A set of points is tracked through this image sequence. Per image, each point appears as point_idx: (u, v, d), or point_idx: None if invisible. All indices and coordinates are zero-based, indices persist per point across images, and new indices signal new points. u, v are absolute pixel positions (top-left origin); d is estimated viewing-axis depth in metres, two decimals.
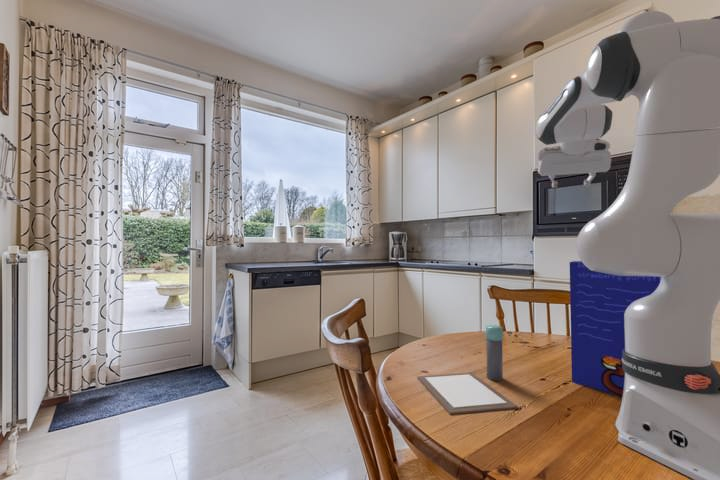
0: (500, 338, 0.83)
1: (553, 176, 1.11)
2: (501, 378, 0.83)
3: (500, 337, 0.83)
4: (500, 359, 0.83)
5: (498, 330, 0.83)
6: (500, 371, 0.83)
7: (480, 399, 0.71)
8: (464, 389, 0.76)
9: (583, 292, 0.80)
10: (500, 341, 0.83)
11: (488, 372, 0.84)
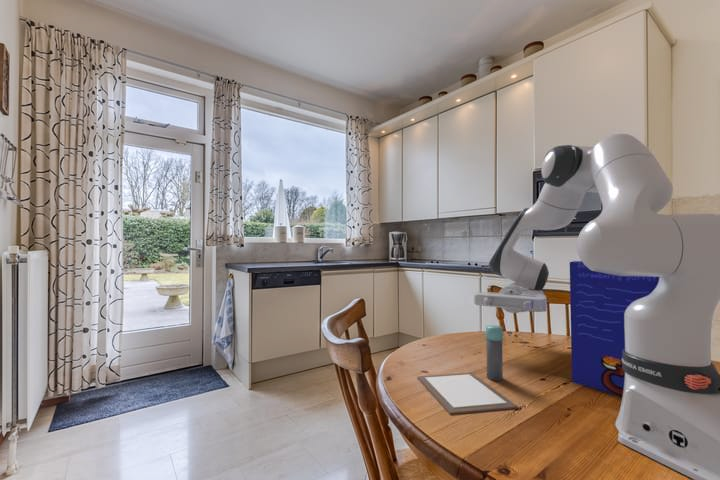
0: (500, 338, 0.83)
1: (487, 297, 1.02)
2: (501, 378, 0.83)
3: (500, 337, 0.83)
4: (500, 359, 0.83)
5: (498, 330, 0.83)
6: (500, 371, 0.83)
7: (480, 399, 0.71)
8: (464, 389, 0.76)
9: (583, 292, 0.80)
10: (500, 341, 0.83)
11: (488, 372, 0.84)
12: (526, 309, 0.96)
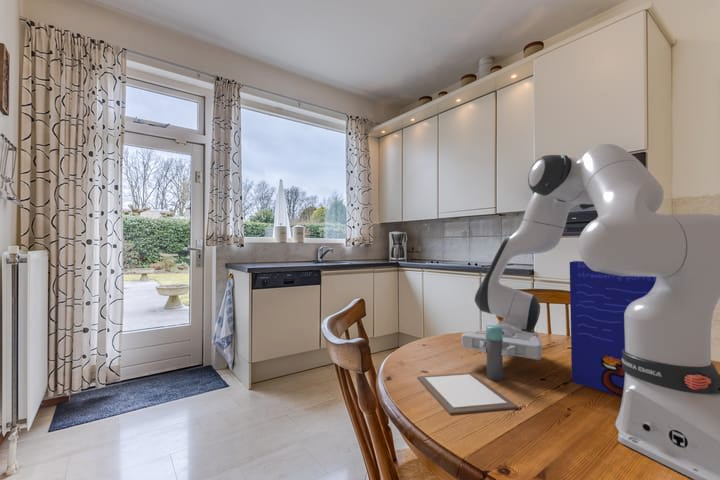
0: (500, 338, 0.83)
1: (483, 341, 0.89)
2: (501, 378, 0.83)
3: (500, 337, 0.83)
4: (500, 359, 0.83)
5: (498, 330, 0.83)
6: (500, 371, 0.83)
7: (480, 399, 0.71)
8: (464, 389, 0.76)
9: (583, 292, 0.80)
10: (500, 341, 0.83)
11: (488, 372, 0.84)
12: (518, 356, 0.85)
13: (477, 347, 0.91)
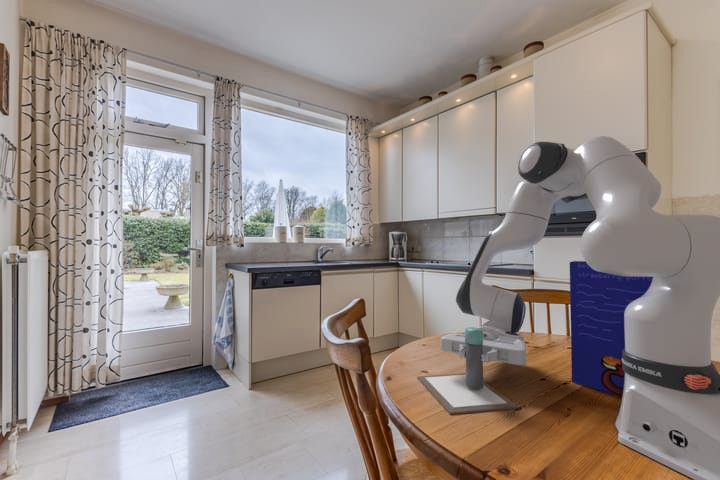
0: (480, 341, 0.76)
1: (463, 344, 0.82)
2: (481, 385, 0.76)
3: (480, 340, 0.76)
4: (480, 365, 0.76)
5: (478, 333, 0.75)
6: (480, 378, 0.75)
7: (480, 399, 0.71)
8: (464, 389, 0.76)
9: (583, 292, 0.80)
10: (480, 345, 0.76)
11: (467, 379, 0.77)
12: (501, 361, 0.77)
13: (457, 351, 0.84)
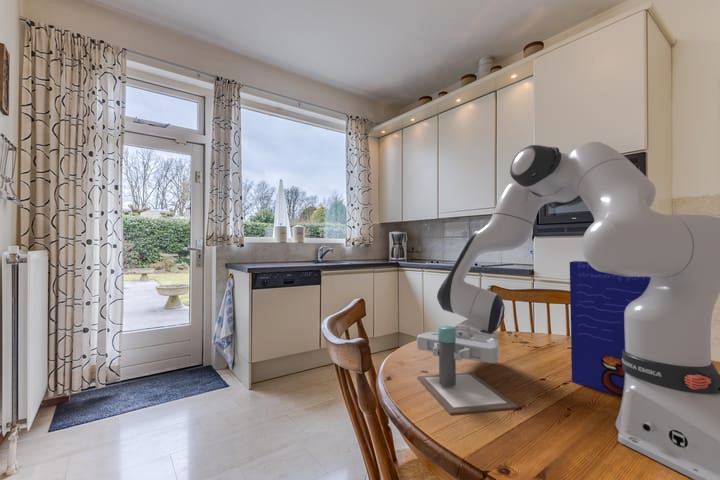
0: (452, 340, 0.77)
1: (438, 343, 0.83)
2: (453, 383, 0.77)
3: (452, 339, 0.77)
4: (452, 363, 0.77)
5: (450, 331, 0.76)
6: (452, 376, 0.76)
7: (480, 399, 0.71)
8: (464, 389, 0.76)
9: (583, 292, 0.80)
10: (452, 343, 0.77)
11: (440, 377, 0.78)
12: (473, 359, 0.78)
13: (432, 349, 0.85)
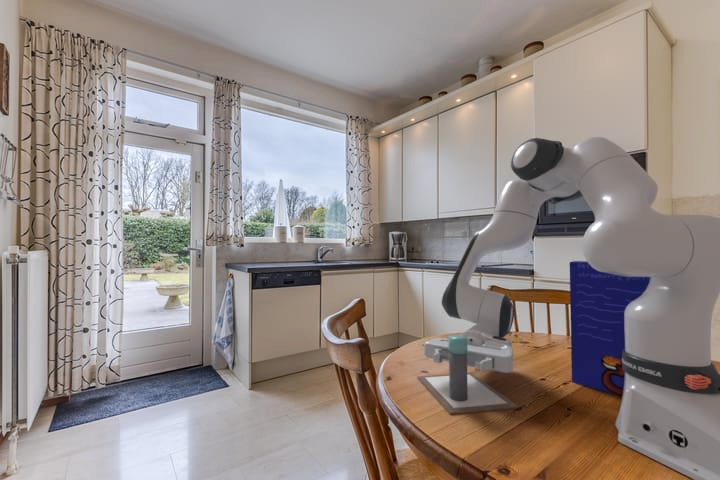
0: (464, 351, 0.71)
1: (439, 349, 0.78)
2: (465, 398, 0.71)
3: (464, 350, 0.71)
4: (464, 376, 0.71)
5: (462, 341, 0.71)
6: (464, 390, 0.70)
7: (480, 399, 0.71)
8: None
9: (583, 292, 0.80)
10: (464, 354, 0.71)
11: (450, 391, 0.72)
12: None
13: None
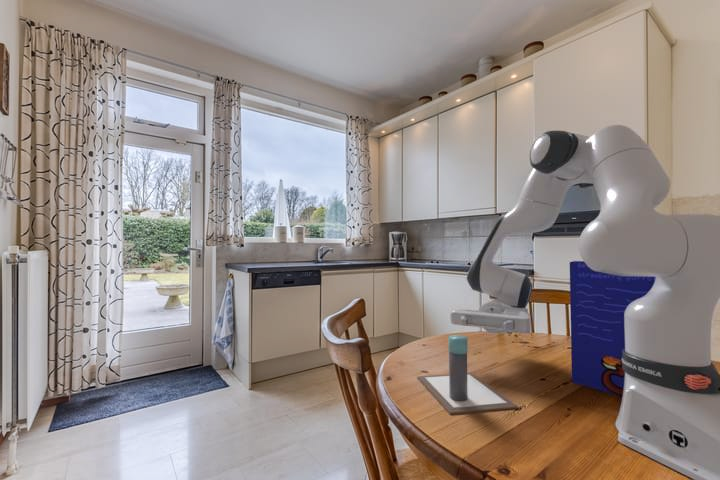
0: (464, 351, 0.71)
1: (464, 315, 0.90)
2: (465, 398, 0.71)
3: (464, 350, 0.71)
4: (464, 376, 0.71)
5: (462, 341, 0.70)
6: (464, 390, 0.70)
7: (480, 399, 0.71)
8: None
9: (583, 292, 0.80)
10: (464, 354, 0.71)
11: (450, 391, 0.72)
12: (507, 330, 0.84)
13: None
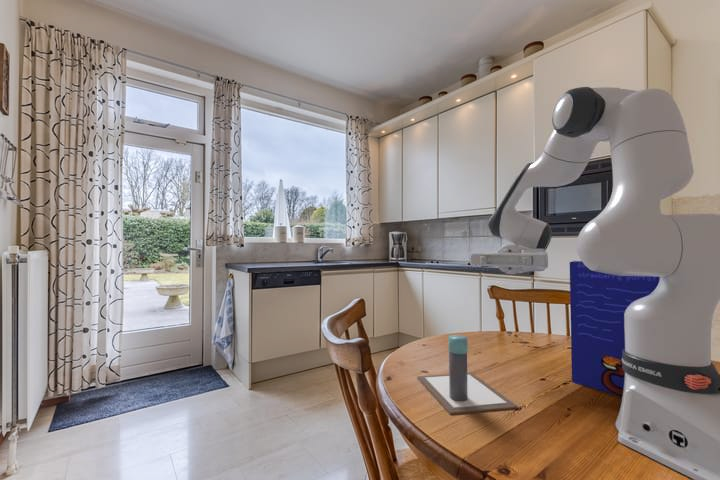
0: (464, 351, 0.71)
1: (484, 256, 0.94)
2: (465, 398, 0.71)
3: (464, 350, 0.71)
4: (464, 376, 0.71)
5: (462, 341, 0.71)
6: (464, 390, 0.70)
7: (480, 399, 0.71)
8: None
9: (583, 292, 0.80)
10: (464, 354, 0.71)
11: (450, 391, 0.72)
12: (526, 266, 0.88)
13: (485, 263, 0.95)
